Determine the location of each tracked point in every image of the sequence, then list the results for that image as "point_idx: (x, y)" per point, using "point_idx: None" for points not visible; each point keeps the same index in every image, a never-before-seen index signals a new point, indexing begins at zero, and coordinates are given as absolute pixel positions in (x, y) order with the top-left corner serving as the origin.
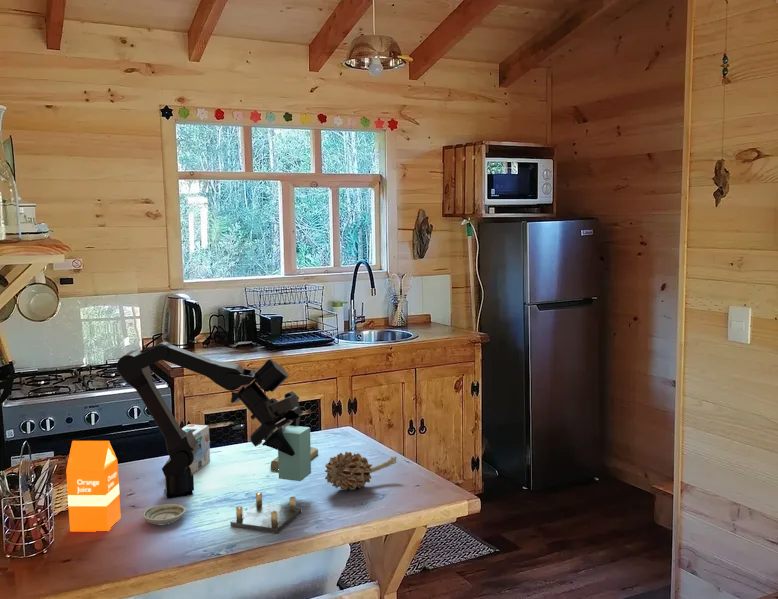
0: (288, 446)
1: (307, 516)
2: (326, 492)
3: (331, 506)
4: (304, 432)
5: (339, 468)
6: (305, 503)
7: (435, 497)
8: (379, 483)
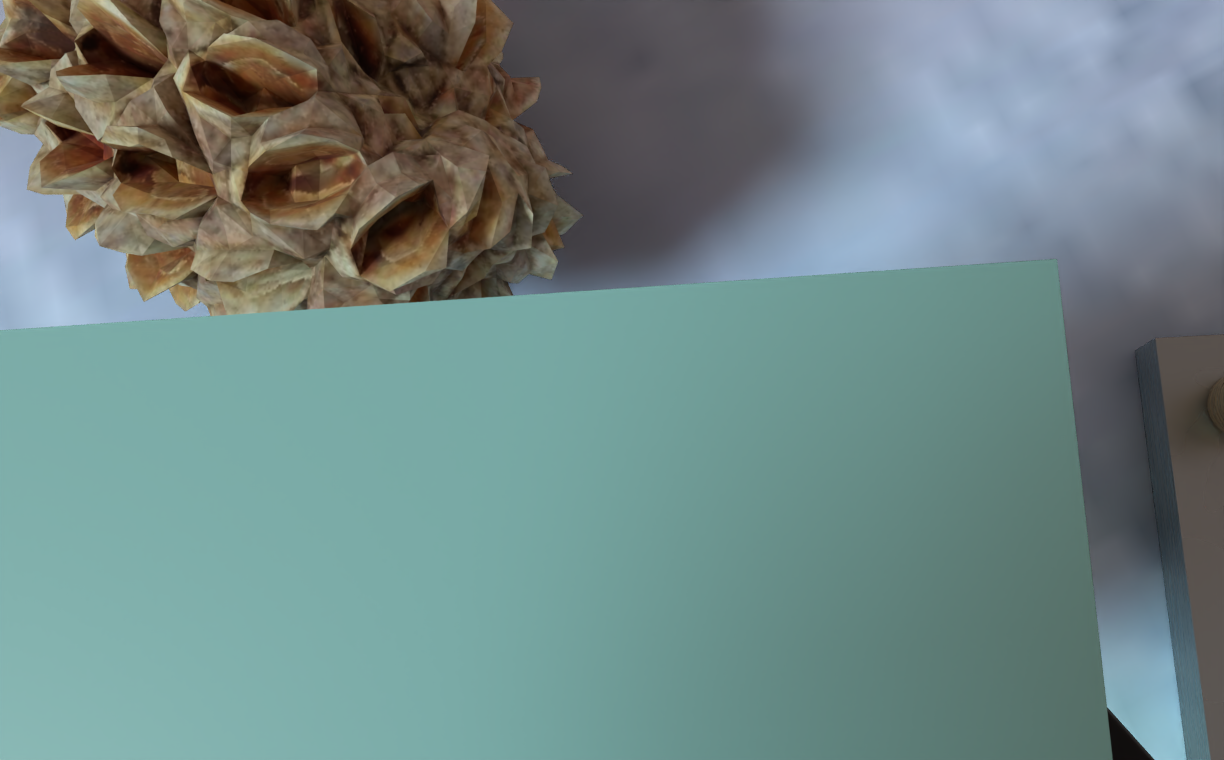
0: (1127, 733)
1: (1175, 256)
2: None
3: (831, 162)
4: (511, 312)
5: (412, 108)
6: None
7: None
8: None
